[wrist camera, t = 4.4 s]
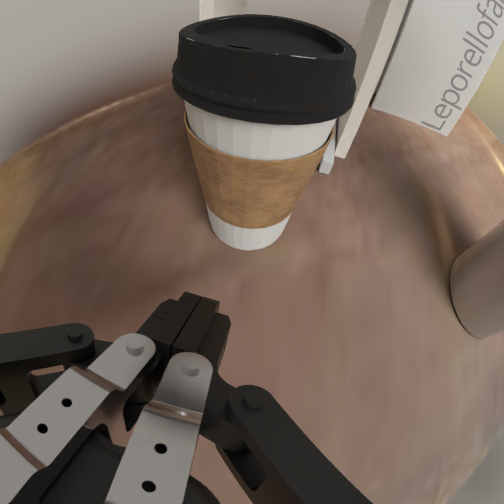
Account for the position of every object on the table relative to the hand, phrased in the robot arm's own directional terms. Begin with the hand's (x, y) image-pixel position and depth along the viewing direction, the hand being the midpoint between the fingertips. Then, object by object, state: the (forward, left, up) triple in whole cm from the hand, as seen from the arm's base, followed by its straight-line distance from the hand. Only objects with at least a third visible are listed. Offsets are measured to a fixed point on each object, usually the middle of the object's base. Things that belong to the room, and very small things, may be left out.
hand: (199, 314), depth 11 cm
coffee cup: (0, -10, -7) cm, 12 cm away
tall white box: (-18, -37, -7) cm, 41 cm away
